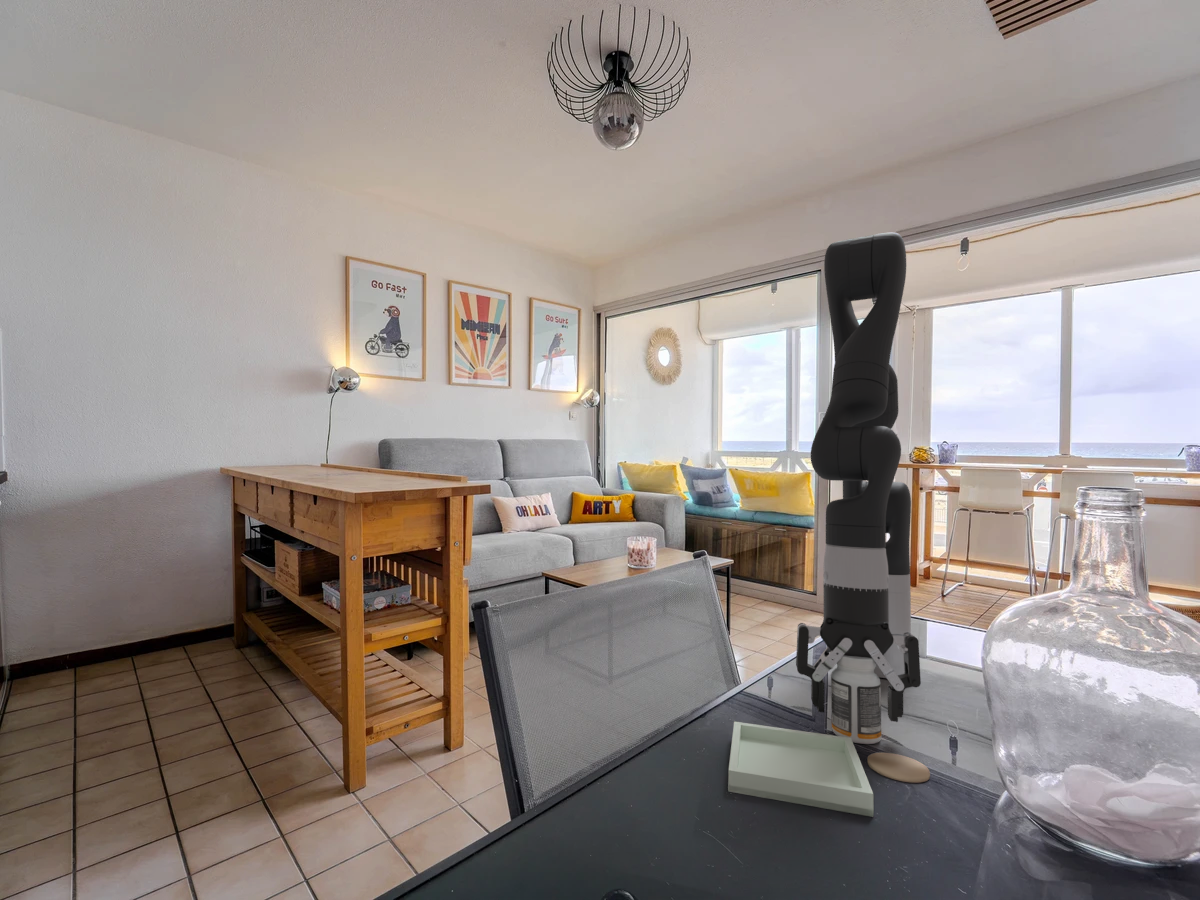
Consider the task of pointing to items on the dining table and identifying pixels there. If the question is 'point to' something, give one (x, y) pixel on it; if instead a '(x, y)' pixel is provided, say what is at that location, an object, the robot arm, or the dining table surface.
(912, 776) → the coaster
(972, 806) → the dining table surface
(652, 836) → the dining table surface
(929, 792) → the dining table surface
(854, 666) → the pill bottle
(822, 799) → the tray
